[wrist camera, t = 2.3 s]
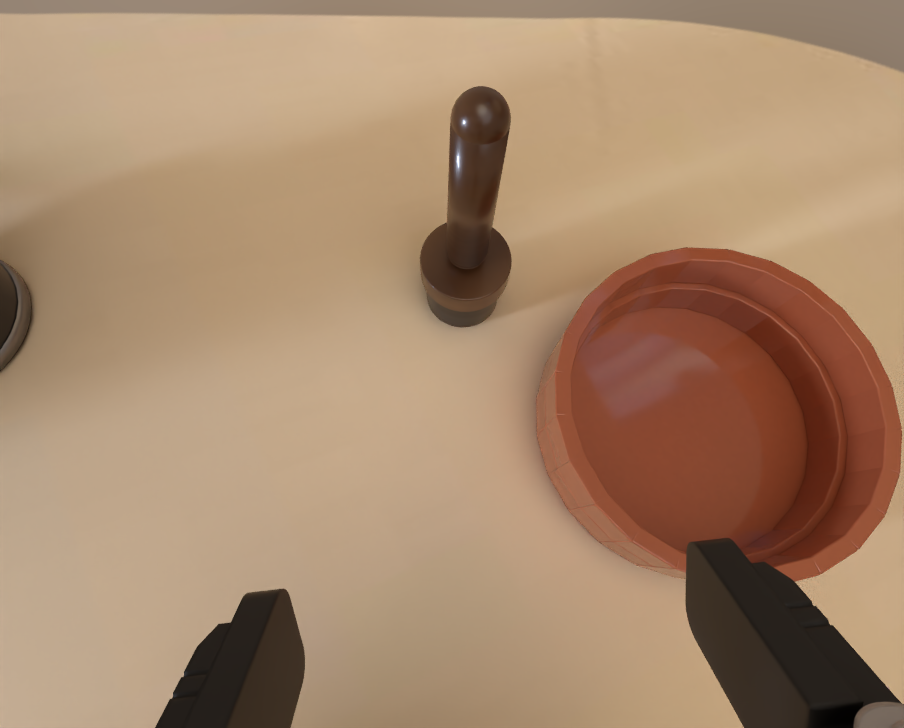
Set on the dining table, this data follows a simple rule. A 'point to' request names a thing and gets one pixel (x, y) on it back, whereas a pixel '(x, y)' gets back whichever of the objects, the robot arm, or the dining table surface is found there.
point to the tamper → (470, 215)
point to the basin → (719, 415)
